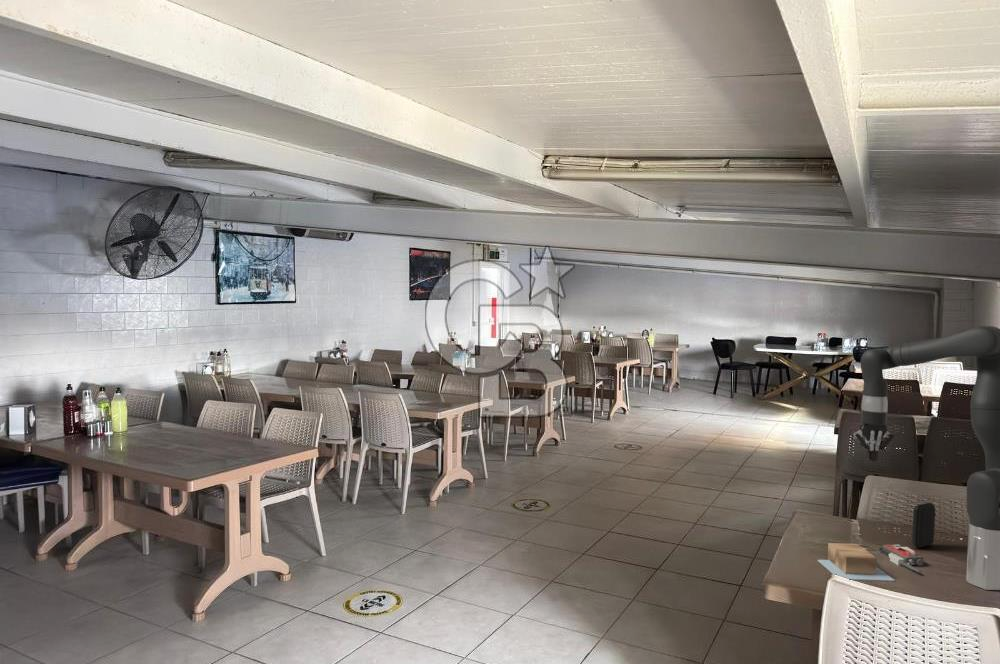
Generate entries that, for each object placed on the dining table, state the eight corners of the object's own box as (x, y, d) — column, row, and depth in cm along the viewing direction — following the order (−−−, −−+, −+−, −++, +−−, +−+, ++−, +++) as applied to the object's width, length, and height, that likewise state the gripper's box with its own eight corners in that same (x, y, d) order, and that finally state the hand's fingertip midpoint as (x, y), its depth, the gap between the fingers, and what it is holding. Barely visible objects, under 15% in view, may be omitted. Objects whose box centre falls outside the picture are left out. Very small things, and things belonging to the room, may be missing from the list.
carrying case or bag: (928, 543, 240) (930, 500, 239) (937, 545, 237) (939, 502, 237) (909, 547, 235) (911, 504, 234) (918, 550, 232) (920, 506, 232)
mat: (894, 581, 206) (894, 580, 206) (839, 579, 206) (839, 578, 206) (869, 562, 221) (869, 561, 221) (817, 560, 221) (817, 559, 221)
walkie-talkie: (872, 552, 230) (916, 577, 211) (873, 539, 230) (917, 562, 210) (896, 552, 232) (943, 576, 212) (897, 538, 231) (943, 561, 212)
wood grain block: (856, 559, 222) (876, 574, 210) (827, 559, 222) (845, 573, 210) (857, 543, 221) (876, 557, 209) (828, 543, 222) (846, 557, 210)
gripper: (859, 410, 228) (857, 463, 229) (900, 411, 227) (898, 464, 228) (848, 407, 235) (846, 458, 236) (888, 408, 235) (886, 459, 236)
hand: (871, 461), depth 232 cm, fingers closed
